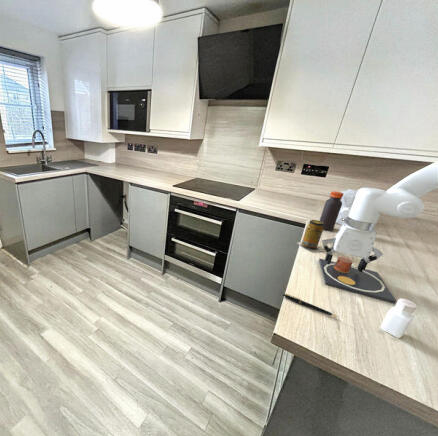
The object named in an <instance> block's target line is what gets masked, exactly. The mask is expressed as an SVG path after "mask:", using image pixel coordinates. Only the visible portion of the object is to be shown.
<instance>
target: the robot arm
mask: <svg viewBox="0 0 438 436" xmlns="http://www.w3.org/2000/svg"><path fill="white" fill-rule="evenodd" d="M437 189H438V160H437V161H435V162H433V163H430V164H429V165H427V166H425V167H423V168H421V169H419V170H417V171H415V172H413V173H411V174H409V175H408V176H406V177H405V178H403V179H401V180H399V182H397V183H396V184H394V185H392V186H391V187H389V188H388V189H387V190H383V189H380V188H375V187H361V188H360V189H359V190H358V189H357V190H358V192H357V195H356V197H355V200H354V203H353V205H352V208H351V211H350V213H349V216H348V217H347V218H342V222H345V223H346V224H343V225H341V226H340V227H339V229H338V231H337V233H336V235H335V237H333V238H328V239H327V238H326V239H322V240H321V243H322V247H323V250H325V252H326V254H325V258H324V260H325V261H326V262H327V264H330V262H331V261H332V260H333V256H334V254H335V253H339V254H342V255H345V256H346V255H347V256H350V257H351V256H352V257H355V258H359V259H360V260H359V263H358V265H357V266H356V267H357V268H358V270H359V271H360V272H362V271H363V270H365V269H366V268H367V267H368V264H370V263H371V262H375V261H376V260H377V259H379V258H380V257H382V256H383V255H384V254H383V252H382V251H381V250H379V249H378V248H376V247H375V242H376V238H377V231H376V230H375V228H376V226H377V223H378V221H379V218H380V216H381V214H383V215H386V216H389V217H394V218H398V219H413V218H416V217H417V216H419V215H421V214H422V213H423V211H424V210H425V204H424V201H423V200H422V199H421V197H423V196H424V195H426V194H428V193H430V192H431V191H434V190H437ZM328 244H332V246H330V247H329V246H328ZM372 252H373V253H374V254H372Z"/></svg>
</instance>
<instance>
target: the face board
mask: <svg viewBox="0 0 438 436" xmlns="http://www.w3.org/2000/svg"><path fill="white" fill-rule="evenodd" d="M318 263H319V266H320V270H321V274H322V278H323V282H324V285H326V286H329V287H333V288H337V289H341V290H343V291H347V292H351V293H354V294H358V295H362V296H365V297H370V298H373V299H376V300H380V301H384V302H388V303H391V304H396V303H397V300H396V298H395V297H394V295H393V293H392V292H391V291H390V288H389V287H388V286H387V284H386V283H385V282H384V280H383V278H382V277H381V275H380V274H379V272H378V271H376V270H375V271H374V270H371V269H366V268H365V270H363V271H362V272H360V271H359V270H358V268H357V267H358V266H354V265H351V268H350V270H349V272H342V271H339V270H337V269H336V268H335V267H334V266H335V264H336V261H332V260H331V262H330V264H327V262H326V261H325V258H321V257H320V258H319V259H318Z"/></svg>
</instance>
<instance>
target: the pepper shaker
mask: <svg viewBox="0 0 438 436" xmlns="http://www.w3.org/2000/svg"><path fill="white" fill-rule="evenodd" d="M417 307H418V305H417V304H416V303H414V302H412V301H411V300H409V299H406V298H399V299H398V300H397V301H396V303H395V306H393V307H391V308H390V309H389V310H388V311H387V314H386V315H385V317H384V319H383V321H382V323H381V325H380V329H381V330H382V331H384V332H386V333H388V334H390V335H391V336H393V337H395V338H396V339H400V338H403V336H404V335H405V333H406V332H407V330H408V328H409V327H410V325H411V323H412V322H413V320H414V319H415V316H414V315H413V314H414V313H415V311H416V310H417Z"/></svg>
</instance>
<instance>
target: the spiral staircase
mask: <svg viewBox="0 0 438 436" xmlns="http://www.w3.org/2000/svg"><path fill="white" fill-rule="evenodd" d="M358 190H359V189H357V190H355V189H351V188H347V190H342V191H340V192H341V193H343V197H342V199H341V202H342V206H341V209H340V212H339V214H338V217H337V220H336V223H335V224H339V225H341V226H342V225H343V224H346V223H345V222H342V218H347V217H348V216H349V213H350V211H351V208H352V205H353V203H354V200H355V197H356V195H357V192H358Z"/></svg>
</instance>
